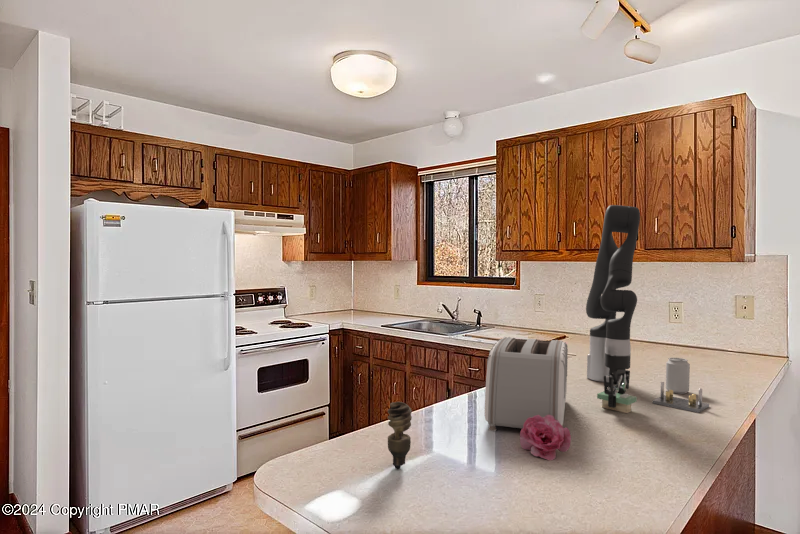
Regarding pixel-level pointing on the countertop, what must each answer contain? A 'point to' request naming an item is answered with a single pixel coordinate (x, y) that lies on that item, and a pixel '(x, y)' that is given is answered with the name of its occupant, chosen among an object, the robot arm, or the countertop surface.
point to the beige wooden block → (617, 407)
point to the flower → (544, 436)
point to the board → (619, 398)
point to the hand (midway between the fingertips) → (616, 405)
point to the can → (677, 375)
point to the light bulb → (399, 432)
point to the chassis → (681, 401)
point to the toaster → (525, 381)
